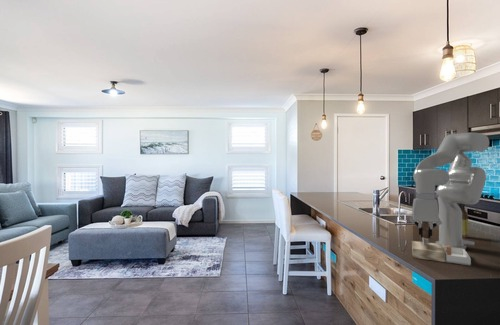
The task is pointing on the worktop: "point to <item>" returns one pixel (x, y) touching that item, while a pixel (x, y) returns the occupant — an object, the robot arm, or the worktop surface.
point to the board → (428, 251)
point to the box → (458, 256)
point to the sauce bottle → (464, 220)
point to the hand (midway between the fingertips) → (425, 236)
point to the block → (448, 249)
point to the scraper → (425, 233)
